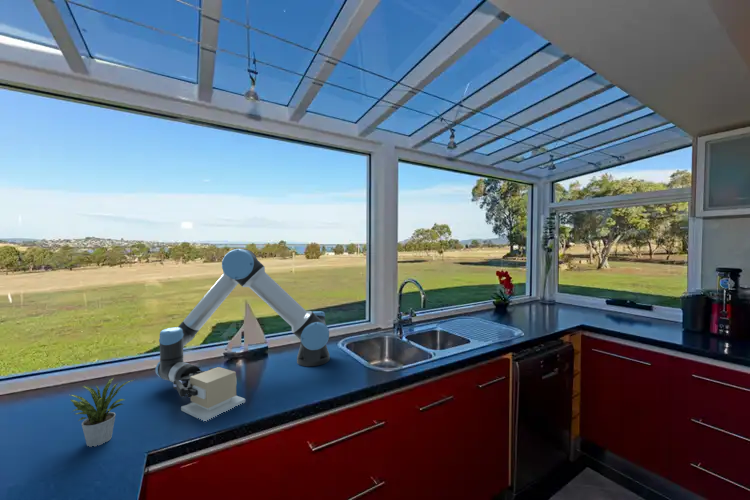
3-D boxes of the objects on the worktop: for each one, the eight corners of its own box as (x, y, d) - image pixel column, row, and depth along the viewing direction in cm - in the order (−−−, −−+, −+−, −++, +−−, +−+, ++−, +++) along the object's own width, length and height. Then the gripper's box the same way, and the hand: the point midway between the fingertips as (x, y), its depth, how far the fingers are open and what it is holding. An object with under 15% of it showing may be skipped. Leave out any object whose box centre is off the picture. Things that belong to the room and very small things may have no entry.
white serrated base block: (221, 393, 114) (220, 365, 114) (245, 402, 106) (244, 372, 106) (181, 410, 102) (180, 379, 102) (205, 422, 94) (204, 388, 94)
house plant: (129, 418, 97) (128, 367, 97) (142, 434, 88) (141, 378, 88) (66, 441, 86) (64, 382, 86) (73, 462, 77) (72, 397, 77)
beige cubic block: (219, 388, 111) (218, 366, 111) (236, 395, 106) (235, 371, 106) (190, 400, 102) (190, 376, 102) (207, 408, 97) (206, 383, 97)
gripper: (215, 374, 123) (250, 385, 111) (150, 397, 104) (185, 415, 92) (214, 355, 123) (250, 365, 111) (150, 375, 104) (184, 390, 92)
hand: (220, 387), depth 102 cm, fingers closed on beige cubic block, 10 cm apart
